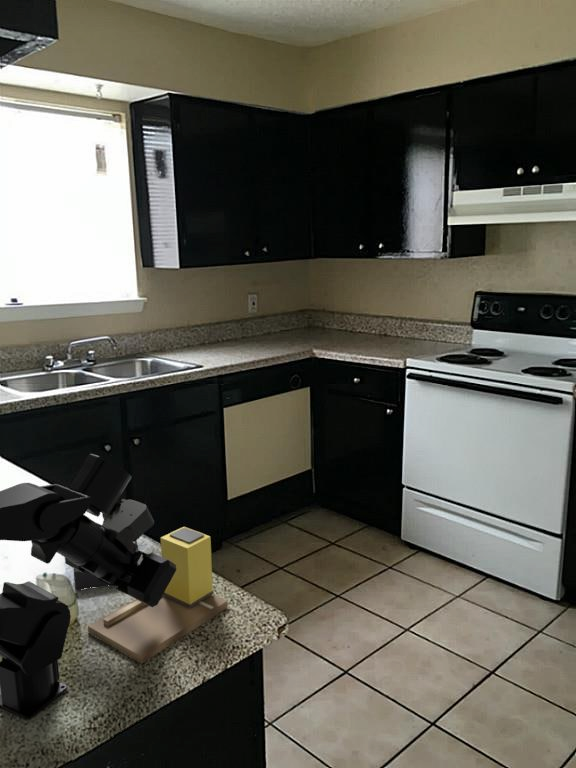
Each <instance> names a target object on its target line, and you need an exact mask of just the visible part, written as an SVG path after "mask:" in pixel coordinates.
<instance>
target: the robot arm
mask: <svg viewBox="0 0 576 768" xmlns="http://www.w3.org/2000/svg"><path fill="white" fill-rule="evenodd" d="M131 480H132V475H131V474H130V473H129V472H128V471H127V470H125V469H124V468H122V467H118V466H116V465H115V464H113V463H111V462H109V461H107V460H106V459H103V457H102V456H100V455H97V454H93V453H90V454H89V453H88V456H87V457H86V459H85V461H84V462H83V465H82V467H81V469H80V470H79V471H78V474H77V475H76V476H75V478H74V480H73V481H72V482H71V484H70V486H69V487H66V486H63V485H60V484H58V483H54V484H49V485H48V484H47V485H42V486H39V485H37V484H34V483H31V482H21V483H18V484H16V485H12V486H11V487H8V488H5V489H2V490H0V541H12V542H30V541H31V548H30V555H31V557H33V558H35V559H36V560H38V561H40V562H43V563H45V564H47V565H48V564H50V563H51V562H52V560H53V558H54V557H55V555H56V554H60V555H61V556H62V557H63V558H64V561H65V563H64V564H66V565H68V566H69V567H70V568H72V569H73V570H74V569H76V570H78V571H80V572H82V573H84V572H85V571H86V570H87V572H89V573H90V574H92V575H94V576H96V577H98V579H99V581H101V582H103V583H105V584H107V585H109V586H108V587H116V590H118V591H119V592H121V593H123V594H125V595H128V596H130V597H132V598H134V600H135V599H137V600H139V601H141V602H143V603H145V604H147V605H149V606H151V607H154V606H156V605H157V604H158V603H159V601H160V599H161V597H162V595H163V594H164V592H165V590H166V588H167V586H168V584H169V583H170V581H171V579H172V577H173V575H174V574H175V572H176V565H175V564H174V563H172V562H171V561H170V560H168V559H166V558H163V557H162V555H158V554H156V553H153V552H150V553H146V552H143V551H141V550H139V545H138V544H137V545H136V544H135V543H133V542H134V541H136V540H137V541H138V540H139V539H140V538H141V537H142V536H143V535H144V534H145V533H146V532H147V531H148V530H149V529H151V528H152V527H153V526H154V525H155V520H154V519H153V516H152V514H151V512H150V510H149V509H148V506H147V505H146V504H145V503H142V502H140V501H137V500H133V499H125V498H122V499H121V500H120V501H121V502H119V501H118V500H119V499H120V497H121V496H122V494H123V492H124V491H125V488H127V486H128V484H129V482H130V481H131ZM86 512H87V513H88V514H90V515H92V516H95V517H97V518H98V517H100V515H101V513H102V518H103V521H102V524H100V523H98V522H95V521H94V520H92V519H91V518H89V517H88V516H87V515H85V514H86ZM137 548H138V552H136V549H137ZM2 586H3V587H2V592H0V657H2V658H1V661H0V708H1V709H2V710H5V711H7V712H10V713H11V714H13V715H16V716H18V717H19V718H22V719H24V720H30V719H33V718H34V717H35V716H36V715H37V714H39V713H40V712H41V711H43V710H44V709H45V708H47V706H49V705H50V704H51V703H53V702H54V701H55V700H56V699H58V698H59V697H60V696H62V694H64V693H65V692H66V691H67V690H68V686H67V684H65V683H62V682H60V681H59V680H60V669H59V660H60V659H61V658H62V657H63V652H64V646H65V642H66V639H67V634H68V629H69V626H70V624H71V623H70V622H71V617H72V616H71V610H70V608H69V605H67V604H66V603H64V602H63V601H60V600H59V597H58V596H57V595H54V594H53V593H51V592H49V591H48V590H46V589H44V588H42V587H40V586H39V585H37V584H35V583H33V582H32V581H26V582H23V583H13V582H9V581H8V582H7V581H5V582H3V585H2Z"/></svg>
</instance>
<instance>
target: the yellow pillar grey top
mask: <svg viewBox="0 0 576 768" xmlns="http://www.w3.org/2000/svg"><path fill="white" fill-rule="evenodd" d="M211 543H212V541H211V536H210V535H207V534H205V533H203V532H200V531H197V530H194V529H192V528H189V527H186V526H183V527H180V528H178V529H176V530H173V531H171V532H170V533H168V534H165V535H163V536H161V537H160V551H161V555H160V556H161V557H163V558H166V559H168V560H170V561H171V562H172V563H174V564H175V565H176V572H175V574H174V575H173V577H172V579H171V581H170V583H169V584H168V586H167V588H166V590H165V592H164V594H163V595H164V596H166V597H168V598H170V599H172V600H174V601H176V602H179V603H181V604H183V605H185V606H187V607H189V608H191V607H192V606H194V605H196V604H197V603H199V602H201V601H202V600H204V599H206V598H207V597H209V596H210V595H212V594H213V595H215V594H214V590H213V569H212V568H213V567H212V544H211Z"/></svg>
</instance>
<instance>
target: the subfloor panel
mask: <svg viewBox="0 0 576 768" xmlns="http://www.w3.org/2000/svg"><path fill="white" fill-rule="evenodd" d="M228 605H229V604H228V600H226V599H224V598H222V597H220V596H217V595H215V594H212V595H210V596H209V597H207V598H206V599H204V600H202V601H201V602H199V603H197V604H196V605H194V606H192V607H191V608H189V607H187V606H185V605H183V604H181V603H179V602H176V601H174V600H172V599H170V598H168V597H166V596H164V595H162V597H161V599H160V601H159V603H158V604H157V605H156V606H154V607H151V606H149V605H147V604H145V603H143V602H141V601H139V600H137V599H135V598H134V600H132V601H130V602H128V603H126V604H125V605H123V606H121V607H119V608H117V609H116V610H114V611H112V612H110V613H107V614H106V615H104V616H103V617H101V618H99V619H96V620H95V621H94V622H92V623H90V624H88V625H87V633H88V632H89V633H90V634H89V633H88V634H89V635H91V634H92V635H91V636H93V635H94V636H96V637H98V638H99V639H98V638H97V639H98V640H100V639H101V640H102V642H103V641H104V642H103V643H105V642H106V643H107V644H106V643H105V644H106V645H108V644H109V645H108V646H110V645H111V646H110V647H112V646H113V647H114V648H113V647H112V648H113V649H115V648H116V649H115V650H117V649H118V650H120V651H122V652H123V653H122V652H121V653H122V654H124V653H125V654H126V655H125V654H124V655H125V656H127V655H128V656H127V657H129V656H130V657H131V658H130V657H129V658H130V659H132V658H133V659H132V660H133V661H136V662H137V663H138V664H139V663H140V664H141V665H142V664H143V663H145V662H146V661H148V660H149V659H151V658H153V657H154V656H156V655H157V654H159V653H160V652H162V651H163V650H165V649H166V648H168V647H169V646H171V645H172V644H174V643H175V642H177V641H179V640H180V639H182V638H184V637H185V636H186V635H188V634H189V633H191V632H192V631H195V629H197V628H199V627H200V626H202V625H203V624H206V623H207V622H208V621H210V620H211V619H213V618H215V616H217V615H219V614H220V613H221V612H223V611H225V610H226V609H228V607H229V606H228ZM94 636H93V637H94ZM96 637H95V638H96ZM101 640H100V641H101ZM118 650H117V651H118ZM120 651H119V652H120ZM155 654H156V655H155Z"/></svg>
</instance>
